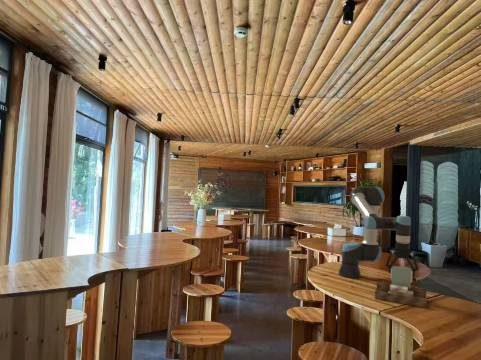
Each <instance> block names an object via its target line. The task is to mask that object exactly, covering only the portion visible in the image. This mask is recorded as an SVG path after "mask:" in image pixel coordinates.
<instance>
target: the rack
mask: <svg viewBox="0 0 481 360" xmlns="http://www.w3.org/2000/svg"><path fill="white" fill-rule="evenodd" d="M390 284H391V285H392V282H391V283H389V282H384V281H378V280H377V283H376V290H375V292H374V299H375V300H380V301H385V302H386V301H387V302H391V303H397V304H401V303H402V305H408V306H412V307H418V308H419V307H420V308H425V309H427V307H428V298H427V288H423V287H417V286H416V287H415V286H411V288H408V291H413V297H412V296H406V295H400V294H394V293H388V291H390Z"/></svg>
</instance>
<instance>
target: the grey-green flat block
mask: <svg viewBox="0 0 481 360" xmlns="http://www.w3.org/2000/svg"><path fill="white" fill-rule="evenodd" d="M391 268H392V280H391V283H392V285H397V286H404V287H408V288H411V287H412V285H411V270H412V269H411V267H406V266H398V265H392V267H391Z"/></svg>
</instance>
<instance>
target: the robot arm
mask: <svg viewBox="0 0 481 360" xmlns="http://www.w3.org/2000/svg"><path fill="white" fill-rule="evenodd" d="M385 198H386V197H385V192H384V190H383V188H381V187H379V186H365V185H364V186H363V185H359V186H356V187H354V188H353V189H352V190H351V192H350V193H349V199H350V202H351V203H352V204H353V206H354V205H355V207H356V208H357V210H358V211H359V213H360V214H361V216H363V225H364V229H363V230H364V231H363V240H362V241H361V242H356V241H355V242H351V241H350V242H346V243H343V244H342V249H341V265H340V267H339V269H338V275H339V276H341V277H342V278H349V279H359V278H361V275H362V274H361V270H360V266H359V263H360V262H367V263H368V262H370V263H374V262H375V263H377V262H378V261H379V260H380V259H381V257H382V247H381V246H380V245H379V242H377V237H378V236H377V234H378V230H380V231H381V230H382V231H384V230H385V231H386V230H387V231H395V241H396V242H395V248H394V249H395V250H393V249H392V250H391V249H389V255H388V257H387V260H386V264H385V267H387V268H388V274H390V280H391V281H392V266H394V264H395V263H396V262H397V260H398V259H403V260H406V261H407V263H408V264H409V266H410V267H409V268H411V283H413V278H415V277H416V273H415V272H416V271H419V266H418V263H417V259H416V253H415V252H411V249H410V248H411V247H410V246H411V244H410V242H411V229H412V228H411V226H412V225H411V224H412V220H411V219H412V218H411V217H410V216H406V215H398V216H396V217H391V216H390V217H383V216H380V217H379V214H378V213H379V208H381V206H382V205H381V204H383V203H384V202H385ZM360 243H361V244H360ZM394 254H395V257H394V258H393V260H392V261H391V258H392V256H393V255H394ZM409 256H411V257H412V259H413V263H414V264H412V262H411V260H410V258H409ZM390 261H391V263H390ZM389 263H390V264H389ZM413 265H414V266H413Z"/></svg>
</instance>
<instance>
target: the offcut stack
mask: <svg viewBox="0 0 481 360" xmlns="http://www.w3.org/2000/svg"><path fill="white" fill-rule="evenodd" d="M388 293H394V294H400V295H406V296H412V297H413V291H408V287H404V286H397V285H391V284H390V291H388Z"/></svg>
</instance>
